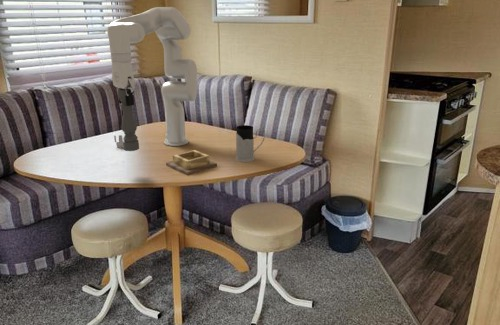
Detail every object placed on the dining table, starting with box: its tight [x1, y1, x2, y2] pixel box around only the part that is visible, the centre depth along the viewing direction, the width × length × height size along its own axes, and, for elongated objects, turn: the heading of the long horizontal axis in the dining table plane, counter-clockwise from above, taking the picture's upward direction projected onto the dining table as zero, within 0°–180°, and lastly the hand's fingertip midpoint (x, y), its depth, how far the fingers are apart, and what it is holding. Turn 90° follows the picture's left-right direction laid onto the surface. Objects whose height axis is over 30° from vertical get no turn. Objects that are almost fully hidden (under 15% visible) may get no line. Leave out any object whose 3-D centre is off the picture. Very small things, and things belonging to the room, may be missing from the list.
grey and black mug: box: [235, 124, 266, 163], centre depth 190 cm, size 9×14×15 cm, turn 111°
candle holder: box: [117, 88, 140, 152], centre depth 169 cm, size 6×6×25 cm
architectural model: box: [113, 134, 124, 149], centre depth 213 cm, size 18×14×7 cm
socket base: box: [165, 149, 218, 176], centre depth 182 cm, size 16×16×5 cm
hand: (126, 103), depth 166 cm, fingers closed on candle holder, 5 cm apart
